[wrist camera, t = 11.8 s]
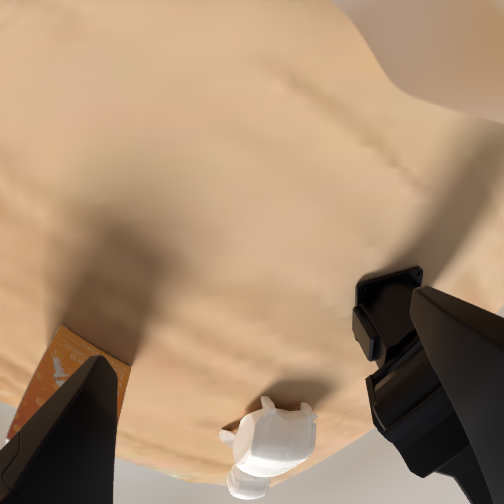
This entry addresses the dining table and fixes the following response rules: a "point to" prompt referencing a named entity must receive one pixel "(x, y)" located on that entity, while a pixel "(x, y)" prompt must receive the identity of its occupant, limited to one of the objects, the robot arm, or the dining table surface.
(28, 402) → the small box
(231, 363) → the dining table surface
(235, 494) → the white animal figurine
